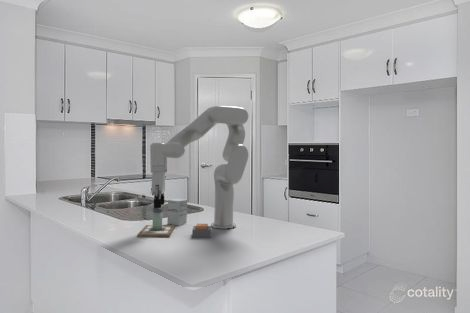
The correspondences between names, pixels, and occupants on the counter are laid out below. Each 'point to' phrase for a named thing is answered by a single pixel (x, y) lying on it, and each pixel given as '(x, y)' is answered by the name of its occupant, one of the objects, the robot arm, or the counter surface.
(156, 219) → the cylinder
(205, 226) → the button
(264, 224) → the counter surface
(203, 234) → the button housing
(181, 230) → the counter surface
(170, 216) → the supplement box
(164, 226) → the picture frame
